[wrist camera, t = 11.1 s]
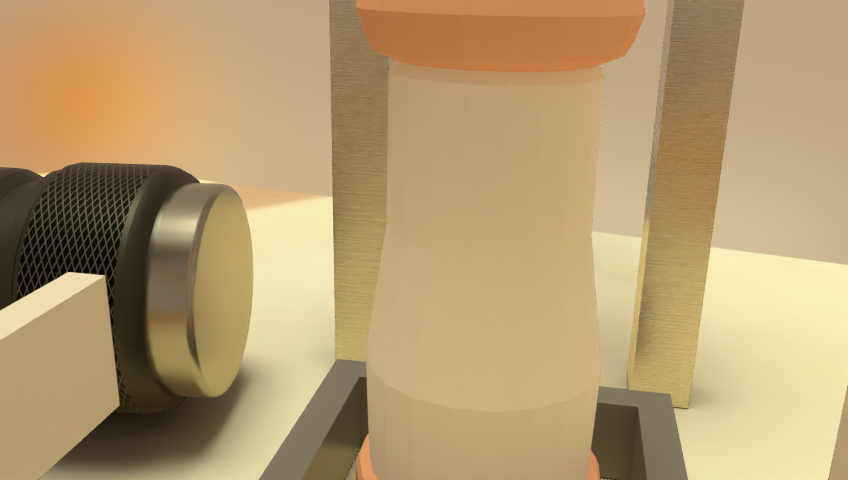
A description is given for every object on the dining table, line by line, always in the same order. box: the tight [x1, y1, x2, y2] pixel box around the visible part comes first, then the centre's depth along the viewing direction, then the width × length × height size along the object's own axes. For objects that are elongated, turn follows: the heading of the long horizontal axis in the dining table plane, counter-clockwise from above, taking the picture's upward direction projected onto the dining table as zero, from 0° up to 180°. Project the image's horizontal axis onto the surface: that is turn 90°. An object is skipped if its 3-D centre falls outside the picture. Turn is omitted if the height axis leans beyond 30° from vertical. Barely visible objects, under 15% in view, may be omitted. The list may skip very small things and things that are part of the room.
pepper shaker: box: [355, 0, 645, 480], centre depth 22 cm, size 7×7×19 cm
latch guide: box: [329, 0, 744, 408], centre depth 32 cm, size 2×15×29 cm, turn 79°
